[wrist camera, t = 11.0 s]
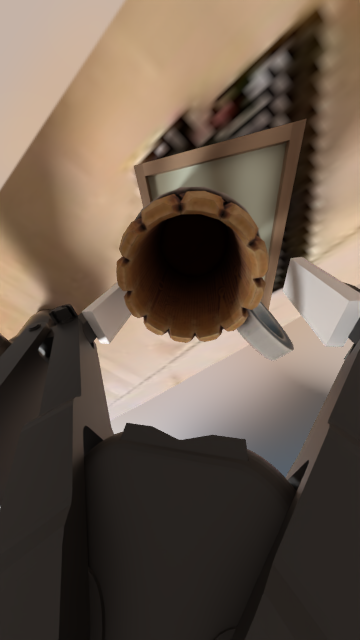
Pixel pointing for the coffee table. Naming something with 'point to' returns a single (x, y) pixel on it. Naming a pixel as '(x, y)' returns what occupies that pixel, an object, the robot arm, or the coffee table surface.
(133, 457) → the robot arm
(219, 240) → the mug
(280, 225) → the framed mirror
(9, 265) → the coffee table surface
